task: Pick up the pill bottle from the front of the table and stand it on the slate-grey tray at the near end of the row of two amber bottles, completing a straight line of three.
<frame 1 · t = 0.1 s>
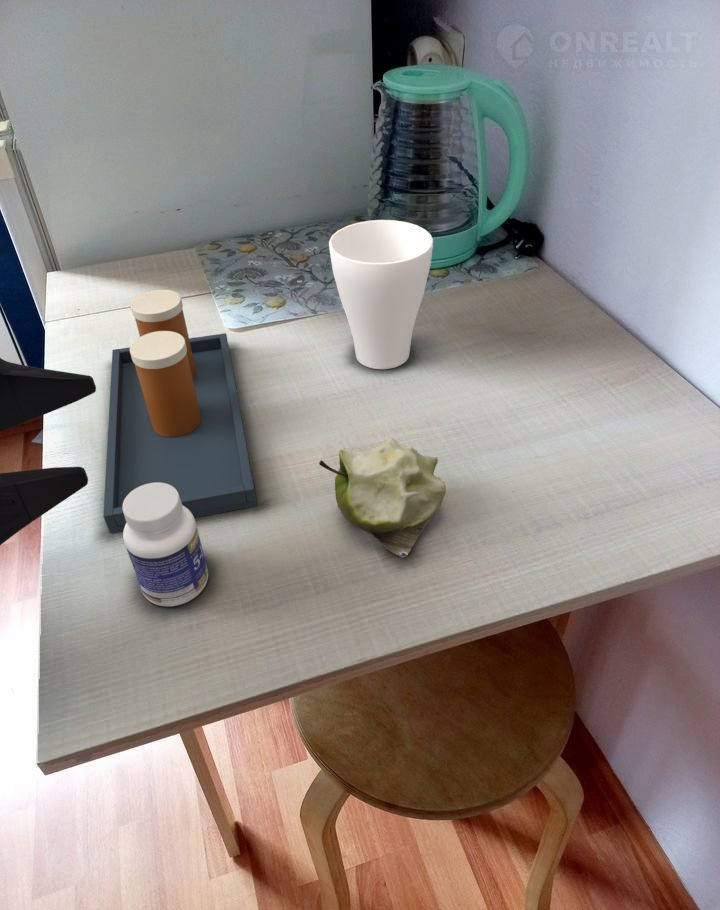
hand: (90, 426, 43), 18 cm above the table, tool horizontal, fingers open, 9 cm apart
fruit: (386, 514, 61), on the table
amber bottle far: (174, 375, 77), point 1 cm above the table, touching tray
pill bottle: (176, 582, 56), on the table
tray: (178, 426, 71), on the table
cup: (382, 356, 80), on the table
amber bottle middle: (177, 422, 70), point 1 cm above the table, touching tray
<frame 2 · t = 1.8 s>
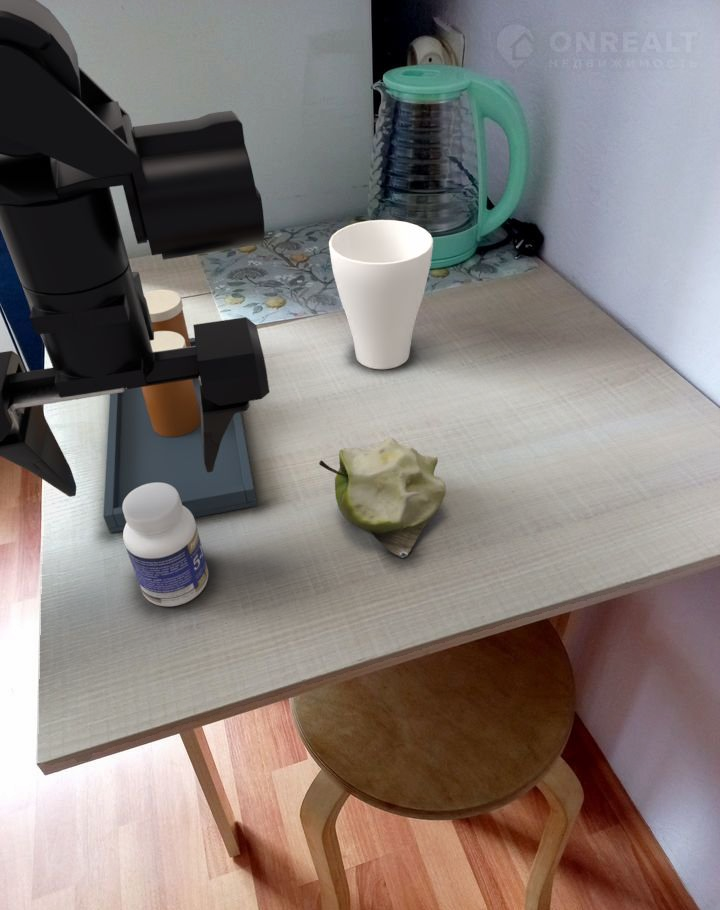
hand: (142, 479, 49), 11 cm above the table, tool pointing down, fingers open, 9 cm apart
nothing on the table moved.
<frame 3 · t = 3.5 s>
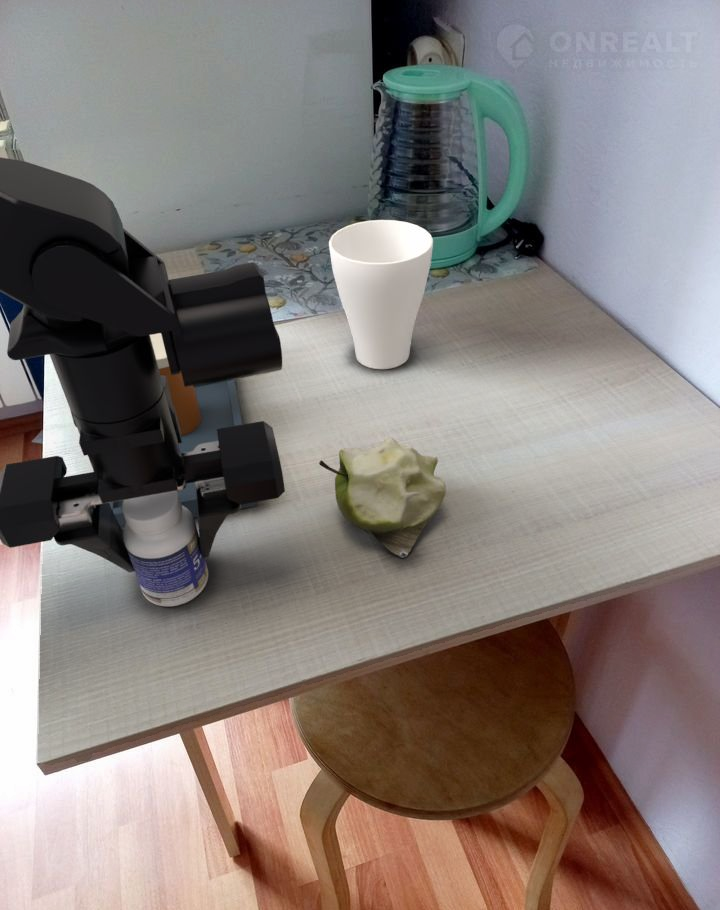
hand: (169, 560, 54), 3 cm above the table, tool pointing down, fingers closed on pill bottle, 5 cm apart
pill bottle: (176, 582, 56), on the table, touching gripper
everything else where it was.
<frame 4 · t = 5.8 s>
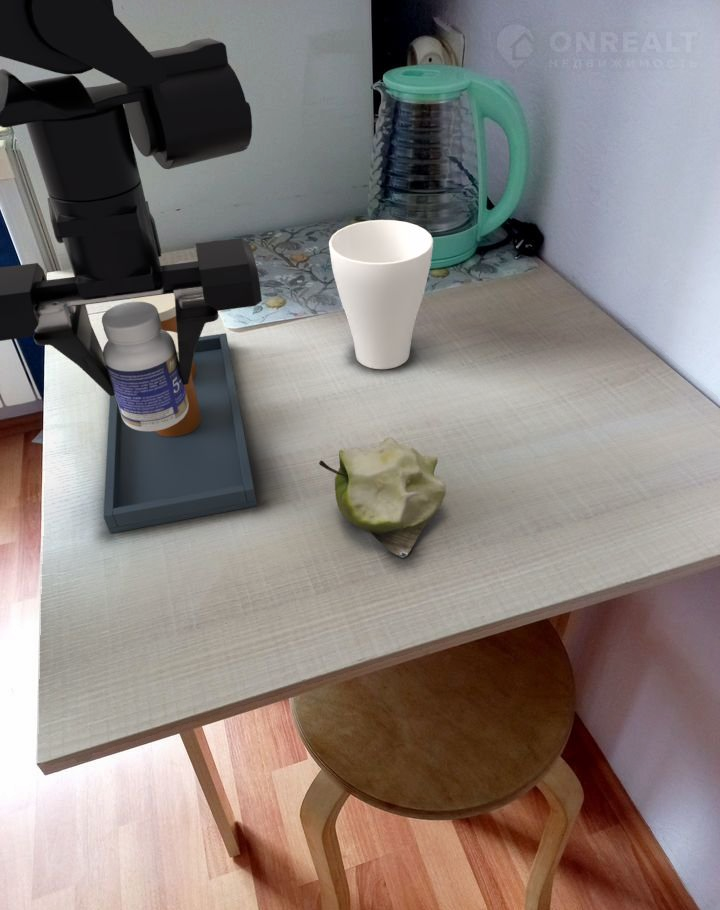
hand: (150, 387, 55), 12 cm above the table, tool pointing down, fingers closed on pill bottle, 5 cm apart
pill bottle: (157, 414, 57), point 9 cm above the table, touching gripper
everything else where it was.
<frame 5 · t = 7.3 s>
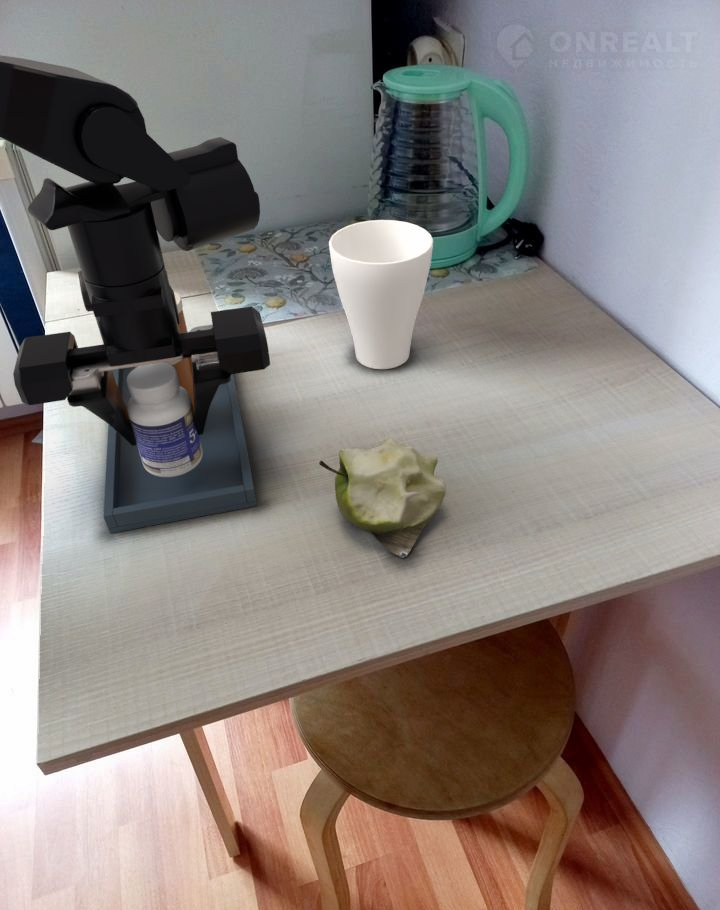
hand: (168, 436, 61), 6 cm above the table, tool pointing down, fingers closed on pill bottle, 5 cm apart
pill bottle: (174, 460, 63), point 3 cm above the table, touching gripper
everything else where it was.
when the fingers open (3 cm above the table, at t = 8.4 s): pill bottle stays where it is, resting on tray.
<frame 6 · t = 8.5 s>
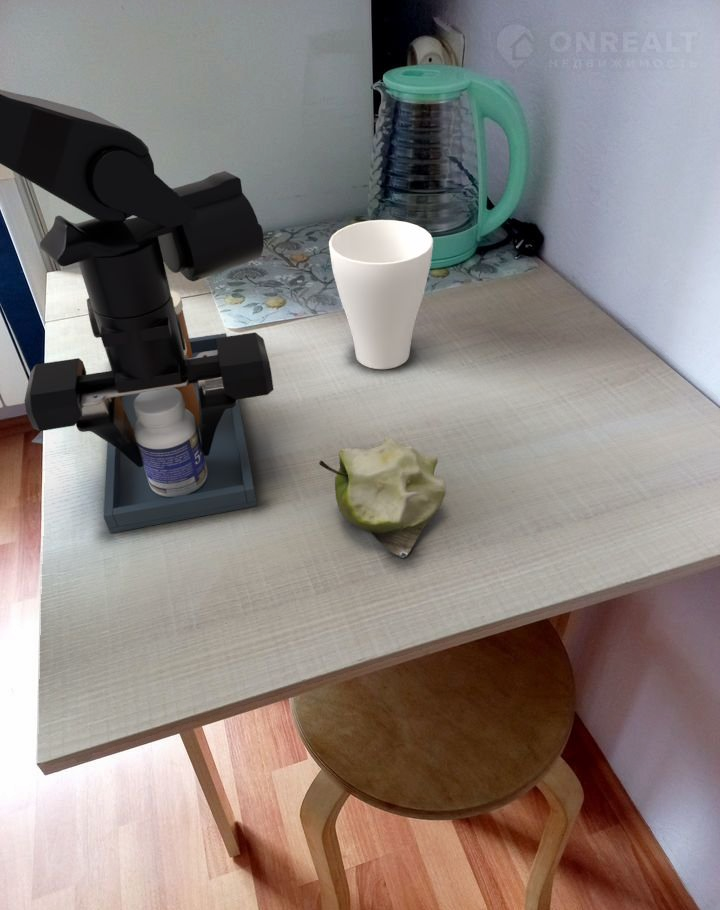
hand: (174, 458, 62), 3 cm above the table, tool pointing down, fingers open, 5 cm apart
pill bottle: (179, 480, 64), resting on tray
everything else where it was.
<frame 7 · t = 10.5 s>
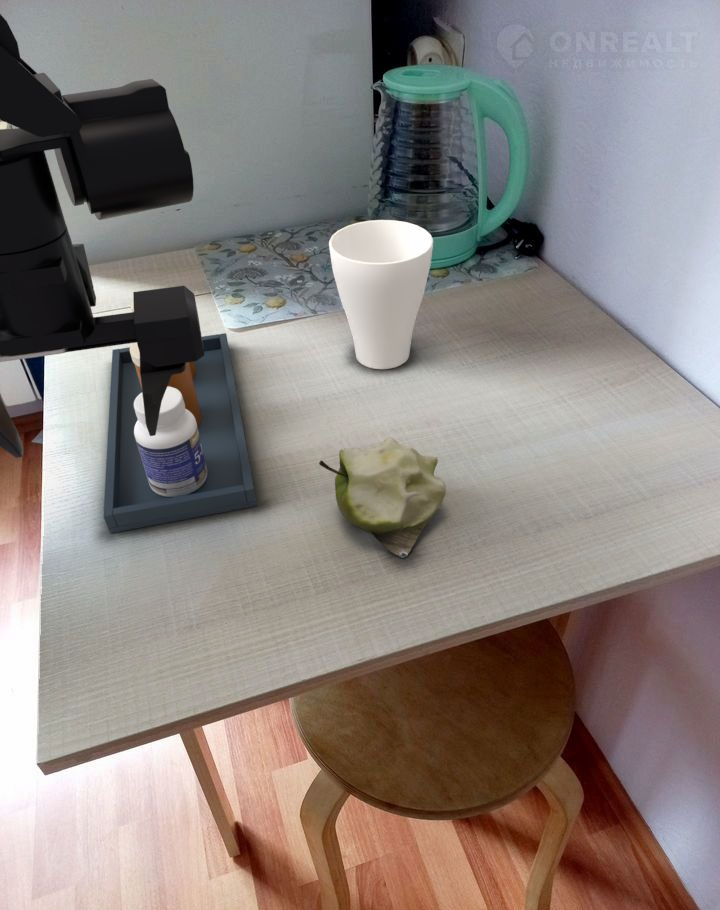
hand: (87, 442, 51), 12 cm above the table, tool pointing down, fingers open, 9 cm apart
nothing on the table moved.
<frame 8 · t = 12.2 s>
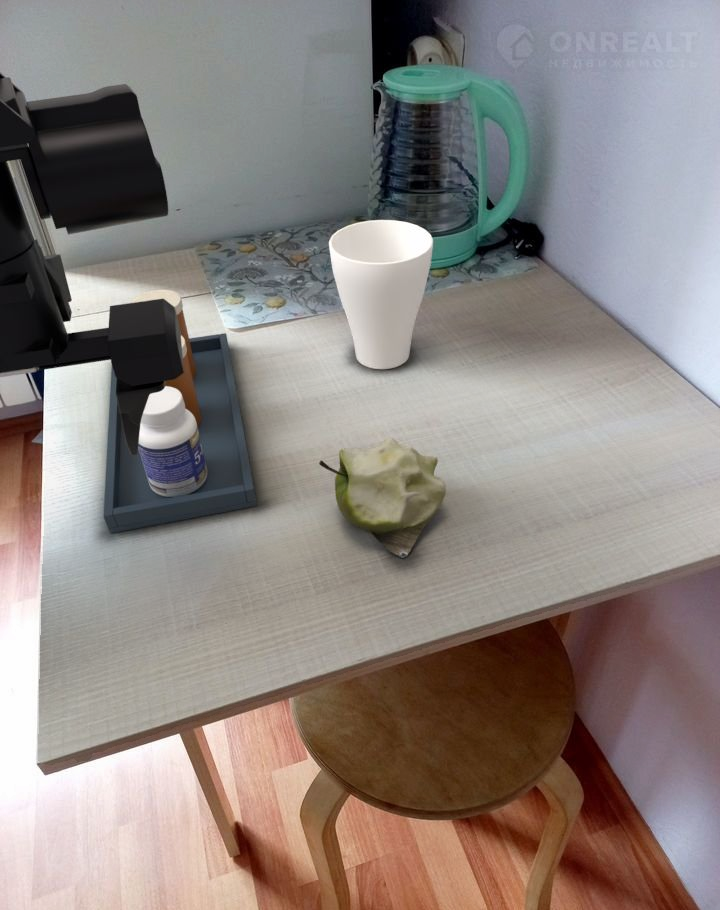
hand: (66, 462, 49), 12 cm above the table, tool pointing down, fingers open, 9 cm apart
nothing on the table moved.
at the end: pill bottle 0.2 cm from the target spot on the table beside the amber bottle far, resting on tray; pill bottle tilted 0°; amber bottle middle moved 0.0 cm from its start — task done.
